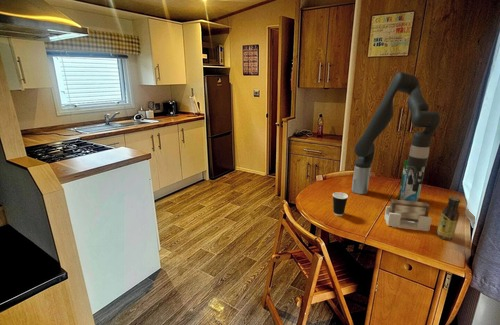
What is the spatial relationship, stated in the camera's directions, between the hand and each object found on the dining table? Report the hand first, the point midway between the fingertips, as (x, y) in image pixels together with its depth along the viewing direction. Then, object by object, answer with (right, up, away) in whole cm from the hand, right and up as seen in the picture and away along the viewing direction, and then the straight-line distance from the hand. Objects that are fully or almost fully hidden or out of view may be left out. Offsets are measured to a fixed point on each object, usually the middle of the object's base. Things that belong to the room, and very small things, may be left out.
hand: (412, 187), depth 129 cm
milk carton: (+18, -10, +33) cm, 39 cm away
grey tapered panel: (0, -16, +5) cm, 17 cm away
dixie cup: (-30, -16, +17) cm, 38 cm away
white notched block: (0, -19, +6) cm, 20 cm away
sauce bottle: (+12, -22, -5) cm, 26 cm away
